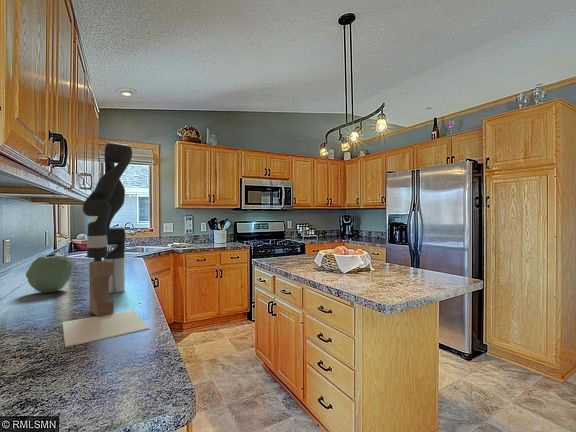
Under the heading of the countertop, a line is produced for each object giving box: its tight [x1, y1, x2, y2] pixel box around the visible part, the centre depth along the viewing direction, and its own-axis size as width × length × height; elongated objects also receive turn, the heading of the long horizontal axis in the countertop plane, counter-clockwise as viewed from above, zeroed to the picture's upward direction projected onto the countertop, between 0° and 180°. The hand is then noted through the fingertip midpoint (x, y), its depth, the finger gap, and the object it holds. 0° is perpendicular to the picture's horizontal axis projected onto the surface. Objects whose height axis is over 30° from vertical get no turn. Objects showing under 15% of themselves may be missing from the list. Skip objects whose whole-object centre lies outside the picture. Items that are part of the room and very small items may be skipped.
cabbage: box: [25, 251, 73, 294], centre depth 156 cm, size 16×19×20 cm
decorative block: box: [89, 260, 114, 317], centre depth 120 cm, size 11×6×20 cm, turn 45°
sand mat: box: [62, 309, 150, 348], centre depth 106 cm, size 26×23×1 cm
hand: (97, 286), depth 131 cm, fingers closed
